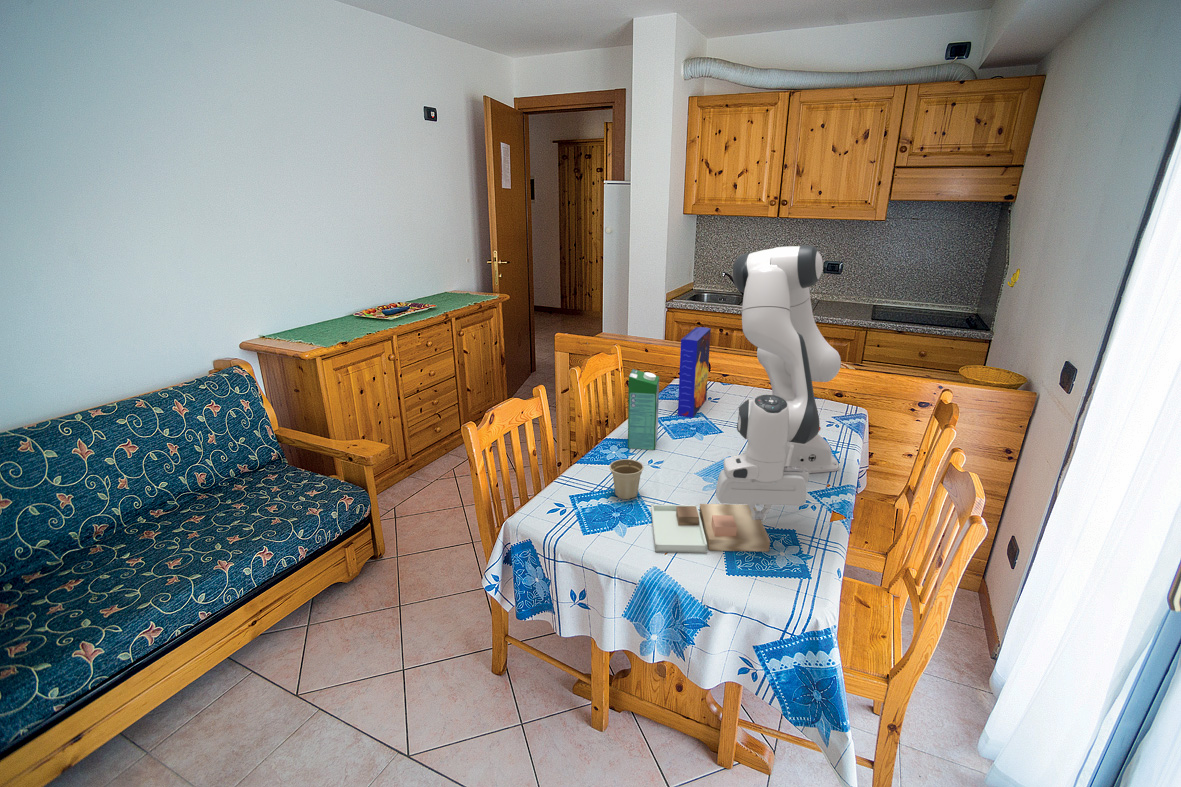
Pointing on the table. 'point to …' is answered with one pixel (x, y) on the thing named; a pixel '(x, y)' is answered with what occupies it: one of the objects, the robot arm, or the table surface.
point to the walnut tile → (687, 515)
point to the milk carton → (643, 410)
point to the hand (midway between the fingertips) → (757, 518)
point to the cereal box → (693, 371)
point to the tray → (676, 532)
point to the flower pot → (626, 477)
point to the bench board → (748, 530)
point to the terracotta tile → (724, 525)
